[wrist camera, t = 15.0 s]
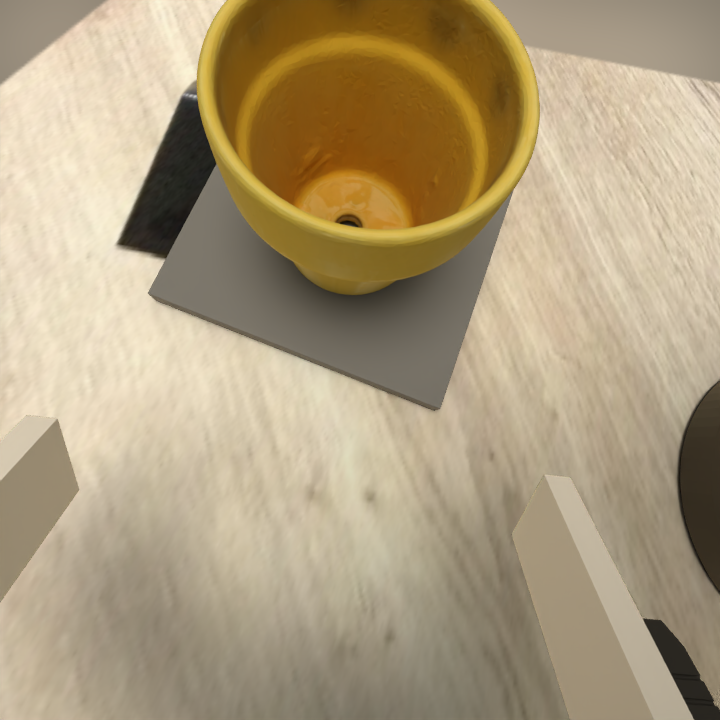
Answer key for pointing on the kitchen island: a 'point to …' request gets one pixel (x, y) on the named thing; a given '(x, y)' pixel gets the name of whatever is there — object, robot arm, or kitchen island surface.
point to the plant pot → (367, 128)
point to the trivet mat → (325, 301)
